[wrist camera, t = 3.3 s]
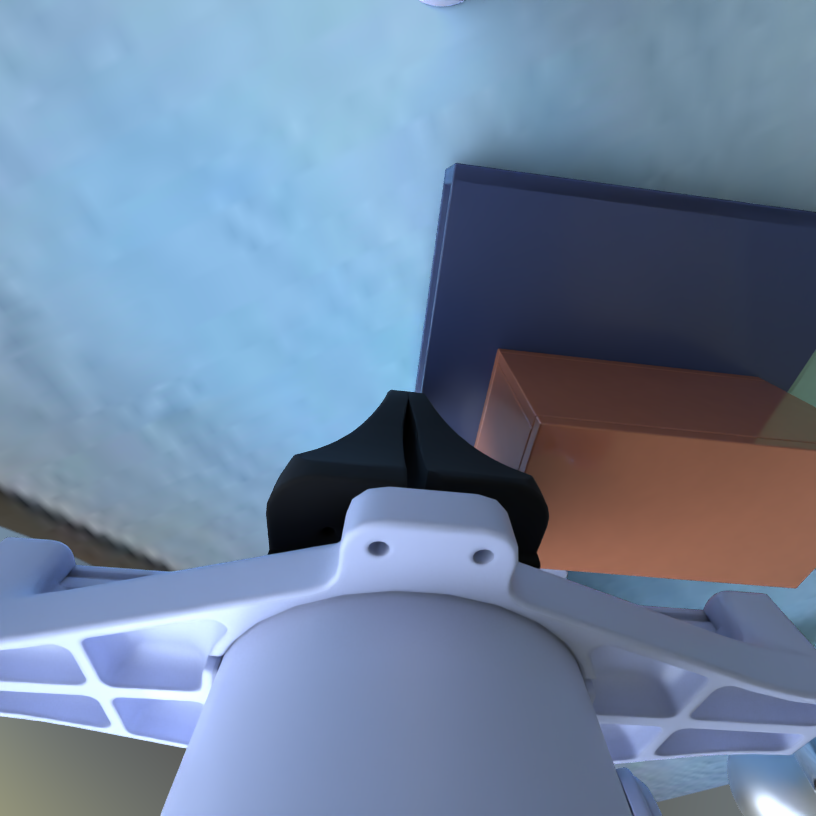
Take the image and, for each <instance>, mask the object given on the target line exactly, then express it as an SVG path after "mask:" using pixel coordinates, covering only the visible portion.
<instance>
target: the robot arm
mask: <svg viewBox="0 0 816 816" xmlns="http://www.w3.org/2000/svg"><path fill="white" fill-rule="evenodd" d="M266 517H267V528H268V538H269V549H270V550H269V552H268V555H265V556H259V557H253V558H248V559H242V560H236V561H230V562H225V563H219V564H213V565H208V566H202V567H196V568H190V569H185V570H179V571H173V572H167V571H153V570H139V569H126V568H112V567H98V566H84V565H76V563H75V559H74V556H73V553H72V551H71V550H70V549H69V547H68V546H67V545H65V544H63V543H61V542H59V541H54V540H45V539H31V538H18V537H6V538H5V539H4V540H2V541H1V542H0V716H6V717H13V718H21V719H29V720H37V721H43V722H49V723H55V724H62V725H68V726H73V727H79V728H84V729H89V730H94V731H99V732H105V733H110V734H115V735H120V736H126V737H131V738H136V739H141V740H146V741H152V742H157V743H162V744H167V745H172V746H178V747H183V748H187V750H186V752H185V755H184V757H183V760H182V762H181V765H180V767H179V770H178V772H177V775H176V777H175V780H174V782H173V785H172V788H171V790H170V792H169V795H168V797H167V800H166V802H165V805H164V808H163V810H162V812H161V815H160V816H662V814H661V811H660V810H659V807H658V805H657V803H656V801H655V799H654V797H653V795H652V793H651V792H650V790H649V788H648V787H647V786H646V785H645V784H644V783H643V782H642V781H640V780H639V779H638V778H637V777H635V776H633V774H632V772H631V771H630V770H629V769H628V768H625V767H623V768H619V769H615V766H614V764H620V763H631V762H641V761H651V760H662V759H672V758H683V757H696V756H710V755H736V754H765V755H791V754H793V753H794V752H795V751H797V750H798V749H800V748H801V747H802V746H804V745H805V744H806V743H808V742H809V741H811V740H812V739H813V738H815V737H816V649H815V648H814V646H813V645H812V644H811V643H810V642H809V641H808V640H807V639H806V638H805V636H804V635H803V634H802V633H801V632H800V631H799V630H798V629H797V627H796V626H795V625H794V624H793V623H792V622H791V621H790V620H789V619H788V617H787V616H786V615H785V614H784V613H783V612H782V611H781V610H780V608H779V607H778V606H777V605H776V604H775V603H774V602H773V601H772V599H771V598H770V597H769V596H768V595H767V594H763V593H751V592H737V591H722V592H719V593H716V594H715V595H713V596H712V597H711V598H710V599H709V600H708V602H707V603H706V605H705V607H704V609H703V610H695V609H681V608H668V607H654V606H640V605H637V604H634V603H631V602H628V601H626V600H623V599H620V598H617V597H614V596H612V595H609V594H606V593H603V592H601V591H598V590H595V589H592V588H590V587H587V586H584V585H581V584H579V583H576V582H573V581H570V580H567V579H566V578H567V576H568V572H567V571H565V570H552V569H540V567H541V563H540V560H539V557H538V554H537V551H538V549H539V546H540V544H541V541H542V539H543V536H544V534H545V531H546V529H547V526H548V521H549V511H548V506H547V504H546V501H545V499H544V497H543V495H542V493H541V490H540V488H539V487H538V485H537V483H536V481H535V480H534V478H533V476H531V475H529V474H526V473H524V472H521V471H518V470H516V469H513V468H511V467H508V466H506V465H504V464H502V463H500V462H498V461H496V460H494V459H492V458H491V457H489V456H487V455H485V454H484V453H482V452H481V451H479V450H478V449H476V448H475V447H473V446H472V445H470V444H469V443H468V442H467V441H465V440H464V439H463V438H462V437H461V436H459V435H458V434H457V433H456V432H455V431H454V430H453V429H452V428H451V427H450V426H449V425H448V424H447V423H446V422H445V421H444V419H443V418H442V417H441V416H440V415H439V413H438V412H437V411H436V409H435V408H434V407H433V405H432V404H431V402H430V401H429V399H428V398H427V396H426V395H425V394H424V393H417V392H407V391H397V390H390V391H389V392H388V393H387V395H386V397H385V399H384V400H383V402H382V403H381V404H380V406H379V407H378V408H377V409H376V411H375V412H374V413H373V414H372V415H371V416H370V417H369V418H368V419H367V420H366V421H365V422H364V423H363V424H362V425H360V426H359V427H358V428H357V429H356V430H354V431H353V432H351V433H350V434H348V435H347V436H345V437H343V438H341V439H340V440H338V441H336V442H333V443H331V444H329V445H326V446H324V447H321V448H318V449H315V450H312V451H308V452H304V453H301V454H296V455H294V456H293V458H292V459H291V460H290V462H289V463H288V465H287V466H286V467H285V469H284V470H283V472H282V473H281V475H280V477H279V478H278V480H277V482H276V484H275V486H274V489H273V491H272V493H271V495H270V498H269V500H268V502H267V510H266Z"/></svg>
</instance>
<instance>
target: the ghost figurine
mask: <svg viewBox="0 0 816 816" xmlns="http://www.w3.org/2000/svg"><path fill="white" fill-rule="evenodd" d="M727 774H728V781H729V785H730V788H731V792H732V794H733V797H734V799H735V802H736V804H737V806H738V808H739V810H740V811H741V813H742V815H743V816H816V793H815V791H814V790H813V788H812V786H811V785H810V783H809V781H808V780H807V778H806V776H805V775H804V773H803V771H802V769H801V768H800V766H799V764H798V763H797V761H796V759H795V758H794V756H793V754H791V755H765V754H736V755H729V756H728V761H727Z"/></svg>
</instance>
